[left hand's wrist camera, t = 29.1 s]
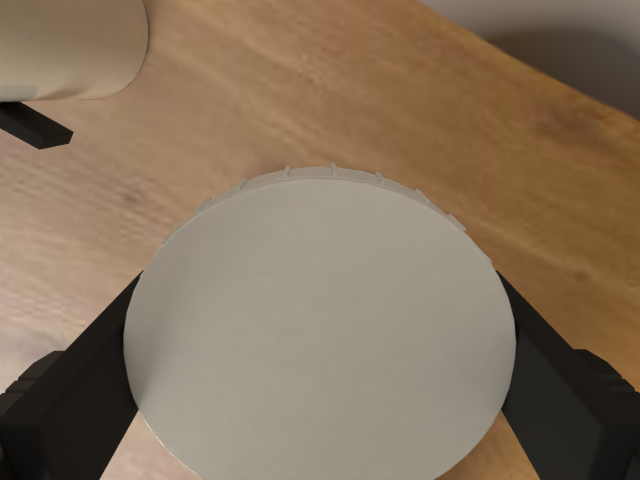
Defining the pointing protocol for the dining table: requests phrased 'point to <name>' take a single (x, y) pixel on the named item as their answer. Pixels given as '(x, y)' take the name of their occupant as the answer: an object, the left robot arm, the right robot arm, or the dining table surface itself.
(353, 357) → the lid
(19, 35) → the jar
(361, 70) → the dining table surface
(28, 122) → the right robot arm
